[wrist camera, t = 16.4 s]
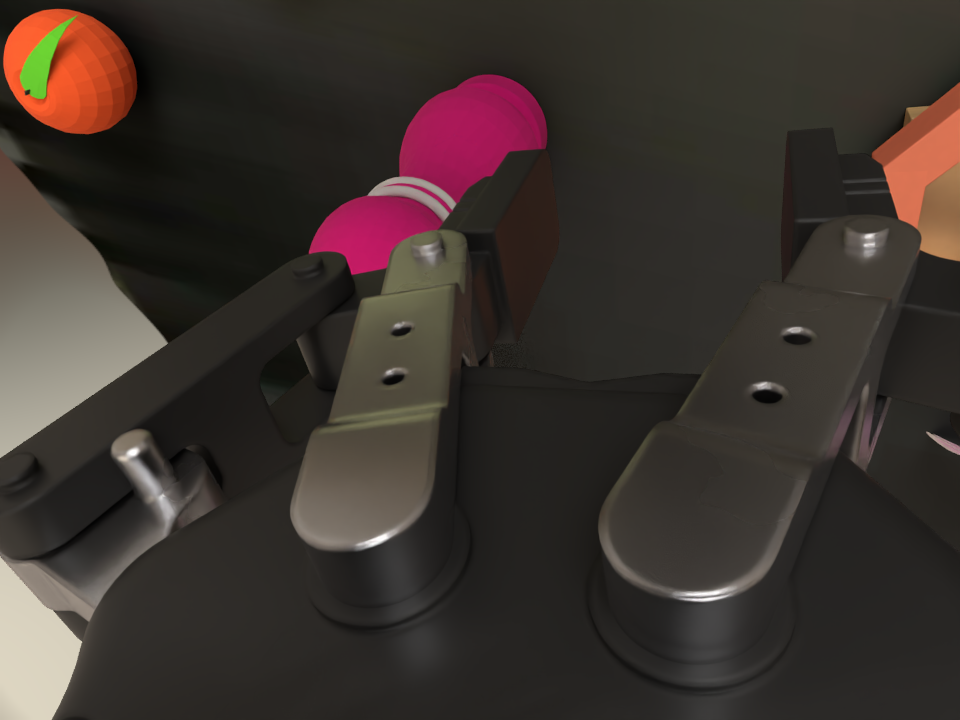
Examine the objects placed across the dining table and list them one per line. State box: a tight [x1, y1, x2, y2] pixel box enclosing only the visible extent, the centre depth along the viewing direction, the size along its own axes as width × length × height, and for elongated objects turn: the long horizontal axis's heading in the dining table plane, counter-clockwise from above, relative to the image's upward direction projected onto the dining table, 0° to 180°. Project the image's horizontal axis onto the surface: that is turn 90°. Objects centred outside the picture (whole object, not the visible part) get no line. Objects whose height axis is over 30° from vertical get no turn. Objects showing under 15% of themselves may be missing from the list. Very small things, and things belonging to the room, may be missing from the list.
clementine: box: [4, 9, 137, 134], centre depth 42 cm, size 8×7×7 cm
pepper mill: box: [309, 75, 547, 275], centre depth 33 cm, size 7×7×20 cm
